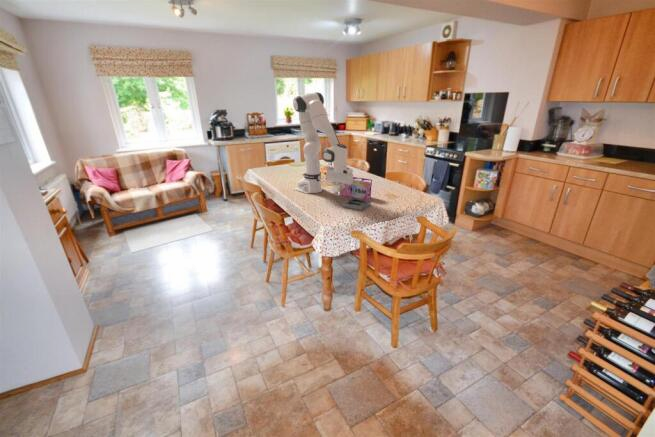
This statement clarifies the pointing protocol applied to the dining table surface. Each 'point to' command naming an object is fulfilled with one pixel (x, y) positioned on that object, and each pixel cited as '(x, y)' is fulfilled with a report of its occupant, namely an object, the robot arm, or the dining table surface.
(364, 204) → the keyhole plate
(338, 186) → the beige block
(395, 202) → the dining table surface
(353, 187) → the gum box
